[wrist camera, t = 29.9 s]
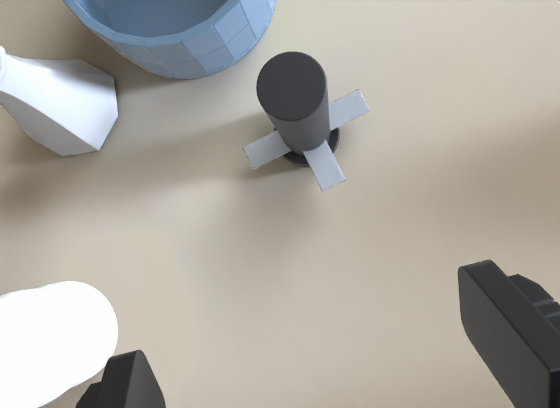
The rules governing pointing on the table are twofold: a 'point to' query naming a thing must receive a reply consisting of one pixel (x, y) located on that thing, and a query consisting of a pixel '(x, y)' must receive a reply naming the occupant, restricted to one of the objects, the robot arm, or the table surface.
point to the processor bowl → (177, 32)
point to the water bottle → (52, 341)
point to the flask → (59, 102)
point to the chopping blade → (302, 117)
